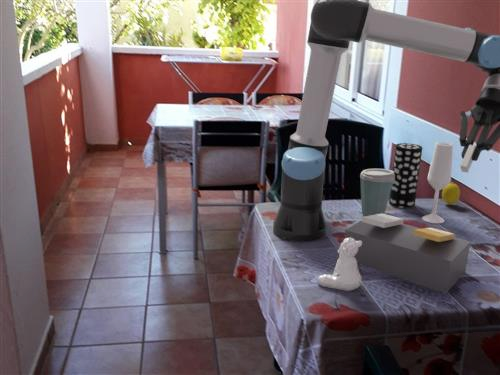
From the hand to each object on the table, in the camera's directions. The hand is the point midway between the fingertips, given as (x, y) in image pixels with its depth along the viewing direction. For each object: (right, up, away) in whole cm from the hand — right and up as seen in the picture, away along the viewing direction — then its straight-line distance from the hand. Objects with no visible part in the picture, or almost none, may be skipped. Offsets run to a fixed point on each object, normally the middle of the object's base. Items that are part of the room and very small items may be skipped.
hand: (464, 169), depth 124 cm
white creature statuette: (-32, -27, -10) cm, 43 cm away
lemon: (+14, -11, +43) cm, 47 cm away
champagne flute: (+3, -15, +30) cm, 34 cm away
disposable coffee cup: (-15, -14, +32) cm, 38 cm away
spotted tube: (-2, -10, +43) cm, 44 cm away
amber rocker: (-10, -16, -7) cm, 20 cm away
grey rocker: (-20, -13, +1) cm, 24 cm away
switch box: (-15, -24, 0) cm, 28 cm away
